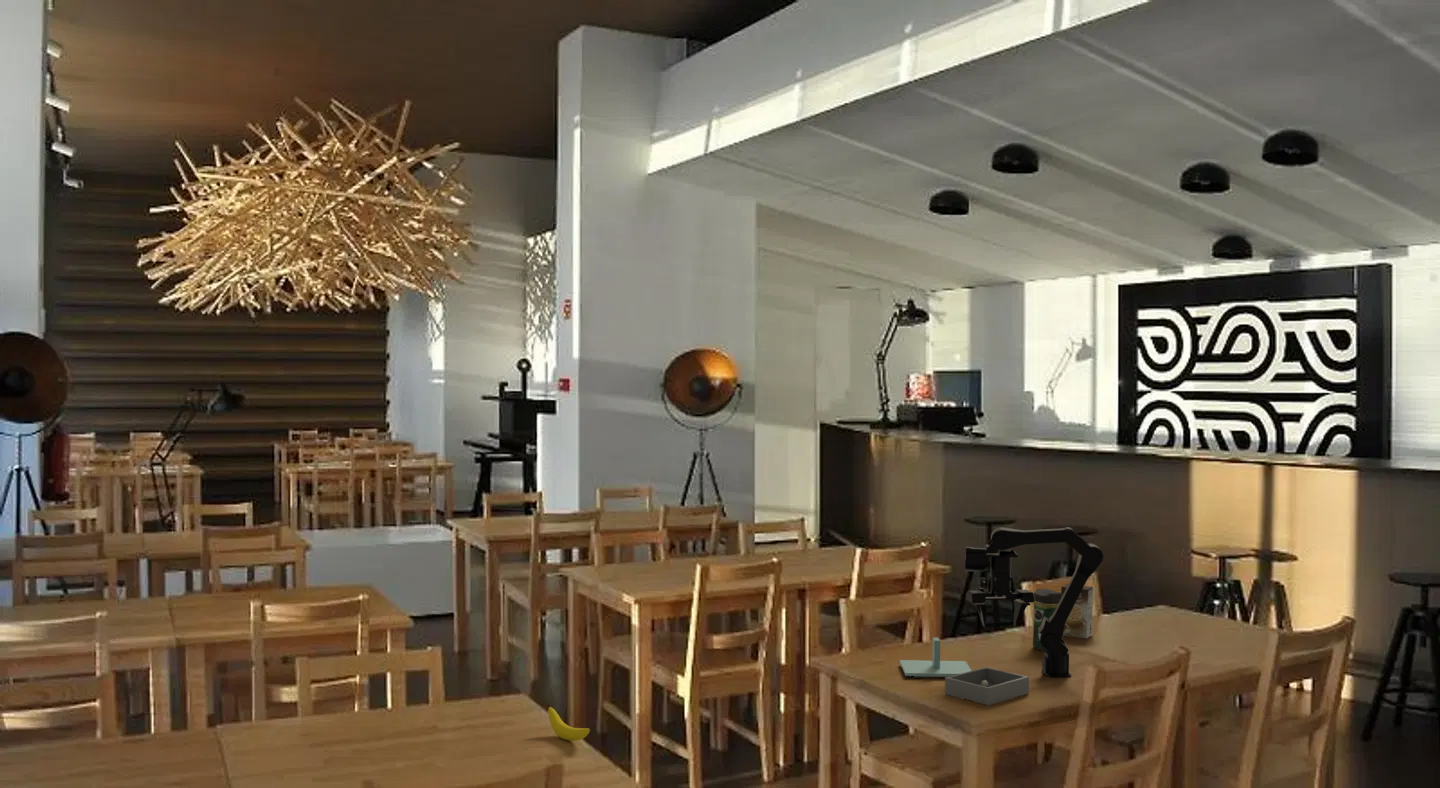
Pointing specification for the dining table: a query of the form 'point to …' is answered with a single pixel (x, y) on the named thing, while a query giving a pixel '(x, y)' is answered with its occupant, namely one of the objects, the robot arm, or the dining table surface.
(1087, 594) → the coffee box
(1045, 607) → the coffee jar
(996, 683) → the tub
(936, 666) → the lid
